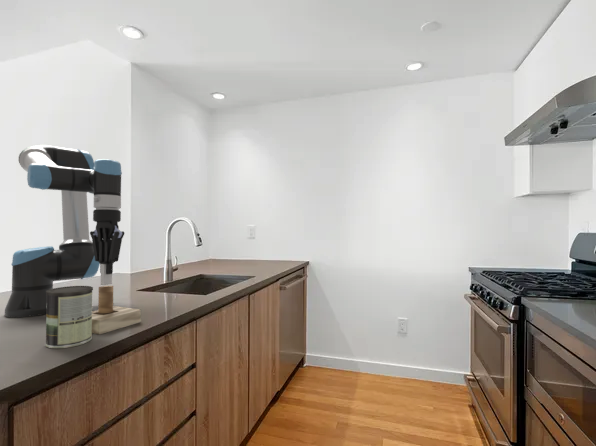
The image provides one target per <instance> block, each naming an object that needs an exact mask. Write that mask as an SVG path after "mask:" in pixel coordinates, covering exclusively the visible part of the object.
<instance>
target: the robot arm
mask: <svg viewBox="0 0 596 446" xmlns="http://www.w3.org/2000/svg"><path fill="white" fill-rule="evenodd" d="M18 164H19V166H20V167H21V168H22V169H23V171H25V172H26V173H27V175H26V180H27V186H28V187H29V188H32V189H40V190H42V191H43V190H52V191H53V190H54V191H61V209H62V211H61V212H62V215H61V216H62V233H63V234H62V235H63V239H62V240H63V242H61V243H60V244H59V245H58V249H55V248H54V246H53V245H51V246H39V247H33V248H31V247H30V248H24V249H20V250H16V251H15V252H14V253H13V254H12V262H11V266H12V270H11V272H12V273H11V274H12V276H11V294H10V295H9V298H8V301H7V303H6V305H5V308H4V316H5V317H6V318H26V317H36V316H42V315H46V308H47V294H46V291H47V290H50V289H54V282H59V281H71V280H78V279H79V280H83V279H89V278H94V277H95V276H96V274H97V273H98V271H99V272H100V286H110V285H112V284H113V272H114V270H113V269H114V268H113V267H114V263H116V262H118V261H119V258H120V253H121V246H122V242H123V241H122V240H123V238H124V236H125V232H124V231H121V230H120V229H119V224H118V223H119V222H121V220H122V219H121V217H122V215H121V214H122V213H121V210H120V209H122V195H121V194H122V174H123V172H122V164H121V163H120V162H119V161H117V160H113V159H107V158H102V159H101V158H100V159H96V160H94V157H93V156H92V154H91V153H90V152H89V151H87V150H86V151H85V150H81V149H79V148H78V149H74V148H68V147H67V148H66V147H60V146H54V145H49V144H48V145H47V144H37V145H31V146H28V147H26V148H24V149H23V150H22V151H20V153H19V154H18ZM87 193H89V194H91V195H93V208H94V210H93V211H92V213H93V216H92V221H93V222H96V225H95V230H91V231H90V228H89V227H90V226H89V211H88V210H89V209H88V196H87V195H88V194H87ZM90 237H91V240H90ZM99 267H100V268H99Z"/></svg>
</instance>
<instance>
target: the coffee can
mask: <svg viewBox="0 0 596 446" xmlns="http://www.w3.org/2000/svg"><path fill="white" fill-rule="evenodd" d="M93 291H94V287H93V286H92V285H91V286H90V285H70V286H60V287H55V288H54V287H53V289H50V290H47V291H46V294H47V308H46V314H45V316H46V319H45V323H46V325H45V347H46V348H48V349H57V350H58V349H66V348H73V347H77V346H81V345H84V344H87V343H89V342H90V341H91V340H92V339H93V336H92V334H93V333H92V311H93Z"/></svg>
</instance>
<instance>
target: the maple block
mask: <svg viewBox="0 0 596 446" xmlns="http://www.w3.org/2000/svg"><path fill="white" fill-rule="evenodd" d="M141 311H142V310H141V309H139V308H131V307H124V306H118V305H116V306H115V305H113V313H111V314H107V315H99V314H98V309H97V310H92V334H95V335H104V334H105V333H109V332H113V331H116V330H119V329H122V328H123V329H124V328H125V327H129V326H132V325H135V324H139V323H141V319H142V318H141V317H142V314H141V313H142V312H141Z"/></svg>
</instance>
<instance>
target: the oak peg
mask: <svg viewBox="0 0 596 446" xmlns="http://www.w3.org/2000/svg"><path fill="white" fill-rule="evenodd" d="M97 300H98V303H97V304H98V309H97V310H98V314H99V315H107V314H111V313H113V307H114V285H100V286H98V299H97Z"/></svg>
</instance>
